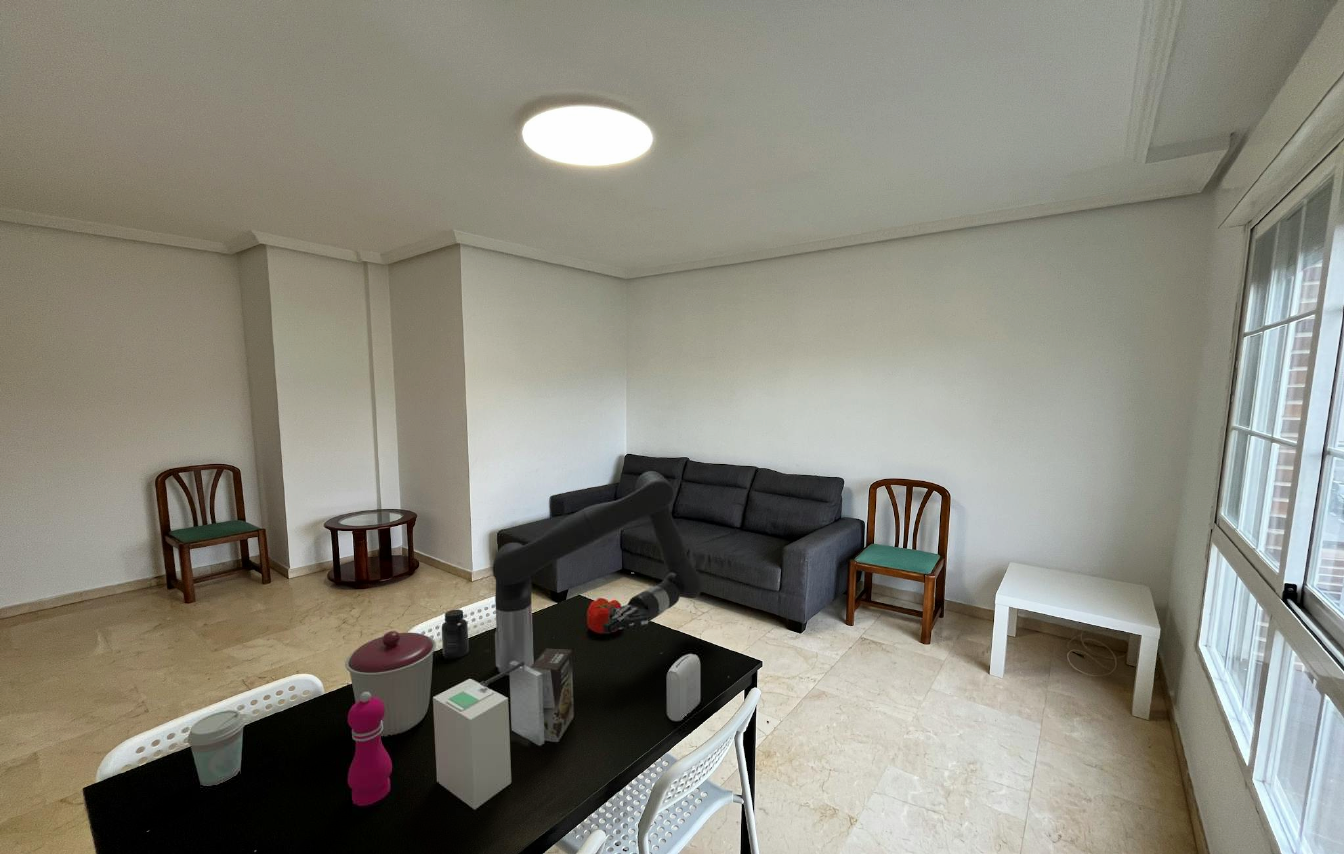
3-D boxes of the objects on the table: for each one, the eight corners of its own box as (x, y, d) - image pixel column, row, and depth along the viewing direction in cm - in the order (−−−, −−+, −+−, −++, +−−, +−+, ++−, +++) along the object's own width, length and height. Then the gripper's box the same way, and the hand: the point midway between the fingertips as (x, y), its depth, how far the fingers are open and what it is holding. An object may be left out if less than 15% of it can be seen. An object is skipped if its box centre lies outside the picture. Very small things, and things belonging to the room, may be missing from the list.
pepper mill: (360, 781, 105) (354, 682, 104) (399, 779, 106) (394, 680, 104) (341, 811, 98) (334, 705, 97) (383, 808, 99) (376, 702, 97)
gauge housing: (437, 781, 105) (432, 695, 104) (473, 757, 112) (469, 676, 110) (474, 809, 98) (470, 717, 97) (511, 782, 105) (507, 695, 103)
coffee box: (558, 742, 116) (556, 670, 115) (530, 739, 117) (528, 667, 116) (574, 716, 125) (573, 649, 124) (548, 713, 126) (546, 646, 125)
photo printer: (687, 696, 133) (687, 647, 132) (703, 701, 131) (702, 651, 129) (664, 718, 124) (663, 665, 123) (680, 724, 122) (679, 671, 121)
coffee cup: (202, 803, 100) (196, 741, 99) (184, 785, 105) (179, 726, 104) (256, 774, 108) (252, 716, 107) (238, 759, 112) (233, 703, 111)
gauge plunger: (472, 754, 110) (468, 676, 108) (516, 726, 118) (513, 653, 117) (500, 773, 104) (497, 690, 103) (544, 742, 113) (541, 666, 112)
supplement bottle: (474, 650, 156) (472, 609, 155) (455, 661, 150) (453, 619, 149) (456, 645, 159) (454, 605, 158) (437, 656, 153) (435, 615, 152)
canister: (453, 720, 124) (448, 630, 123) (366, 761, 111) (360, 661, 109) (419, 690, 137) (415, 608, 135) (338, 723, 124) (332, 633, 122)
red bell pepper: (579, 633, 166) (578, 604, 166) (604, 618, 176) (603, 591, 176) (607, 642, 161) (606, 612, 160) (631, 626, 171) (630, 598, 170)
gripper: (629, 586, 151) (585, 608, 137) (668, 596, 143) (625, 620, 129) (630, 612, 152) (586, 637, 138) (669, 623, 144) (626, 651, 130)
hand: (605, 629), depth 134 cm, fingers closed
